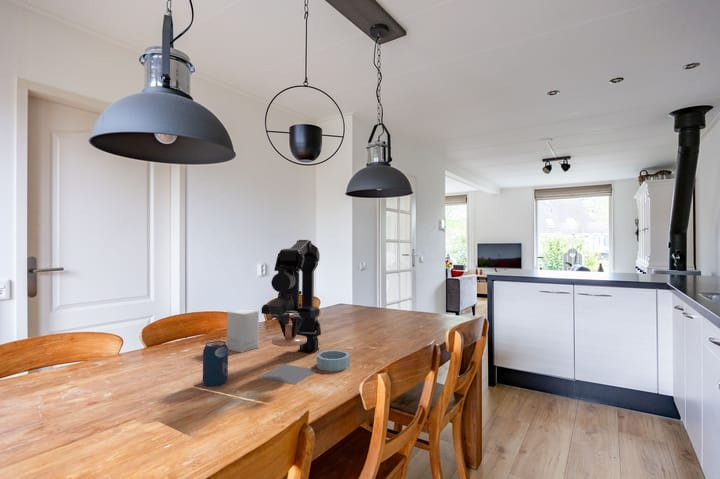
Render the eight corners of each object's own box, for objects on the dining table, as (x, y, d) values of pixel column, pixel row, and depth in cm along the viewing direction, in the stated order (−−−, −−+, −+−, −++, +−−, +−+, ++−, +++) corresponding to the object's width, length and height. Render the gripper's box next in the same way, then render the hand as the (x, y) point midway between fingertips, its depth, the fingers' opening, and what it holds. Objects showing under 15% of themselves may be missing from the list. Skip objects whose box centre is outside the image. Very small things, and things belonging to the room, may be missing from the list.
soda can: (229, 385, 109) (230, 344, 109) (204, 390, 105) (204, 347, 106) (225, 378, 115) (226, 339, 115) (201, 382, 111) (201, 342, 112)
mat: (256, 378, 115) (256, 377, 115) (283, 365, 128) (283, 364, 128) (294, 385, 109) (294, 384, 109) (319, 371, 122) (319, 369, 122)
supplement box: (259, 347, 149) (259, 310, 150) (241, 353, 142) (241, 313, 142) (244, 344, 154) (244, 308, 154) (225, 349, 147) (226, 311, 147)
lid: (264, 343, 116) (264, 326, 116) (285, 336, 126) (285, 320, 126) (294, 348, 111) (294, 329, 111) (313, 339, 121) (313, 322, 122)
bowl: (310, 369, 124) (310, 357, 124) (326, 360, 134) (327, 348, 134) (340, 374, 119) (340, 361, 119) (354, 364, 129) (354, 352, 129)
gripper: (250, 289, 115) (249, 339, 115) (300, 293, 108) (300, 347, 108) (272, 286, 126) (271, 332, 125) (320, 289, 118) (319, 338, 118)
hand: (289, 337), depth 119 cm, fingers closed on lid, 3 cm apart
